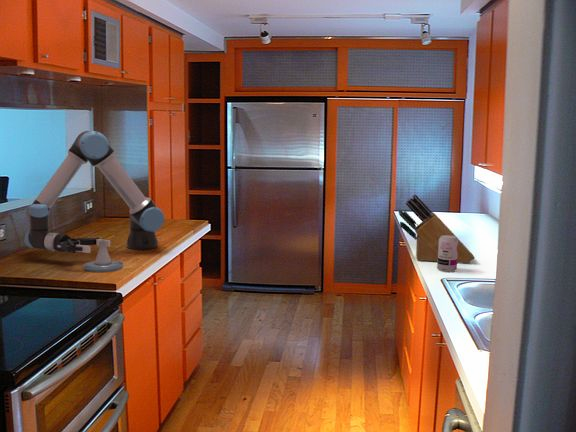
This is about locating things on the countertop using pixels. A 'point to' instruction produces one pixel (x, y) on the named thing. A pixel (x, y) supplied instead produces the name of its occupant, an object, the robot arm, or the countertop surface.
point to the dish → (103, 266)
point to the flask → (102, 254)
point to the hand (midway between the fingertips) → (100, 246)
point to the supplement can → (447, 253)
